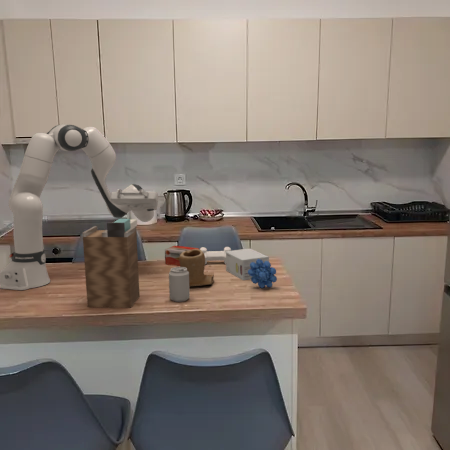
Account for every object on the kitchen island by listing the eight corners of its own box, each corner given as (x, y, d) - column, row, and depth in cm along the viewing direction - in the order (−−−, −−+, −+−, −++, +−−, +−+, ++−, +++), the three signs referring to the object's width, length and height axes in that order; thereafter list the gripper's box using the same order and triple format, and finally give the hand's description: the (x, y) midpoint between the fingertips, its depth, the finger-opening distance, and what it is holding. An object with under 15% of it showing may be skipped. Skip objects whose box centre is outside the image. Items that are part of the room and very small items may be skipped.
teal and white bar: (111, 236, 166) (110, 223, 165) (128, 225, 186) (127, 214, 185) (122, 236, 166) (121, 223, 165) (137, 225, 185) (137, 214, 185)
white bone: (230, 262, 231) (230, 245, 230) (231, 265, 222) (231, 248, 222) (200, 262, 231) (199, 246, 230) (199, 266, 222) (199, 248, 221)
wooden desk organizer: (87, 306, 170) (81, 222, 165) (99, 295, 182) (94, 217, 176) (130, 307, 169) (126, 223, 163) (139, 296, 181) (135, 217, 175)
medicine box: (164, 264, 226) (164, 248, 225) (174, 260, 233) (173, 245, 232) (191, 268, 219) (191, 252, 217) (200, 264, 226) (200, 248, 224)
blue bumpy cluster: (247, 291, 186) (247, 261, 184) (248, 285, 192) (248, 257, 190) (277, 291, 185) (277, 262, 182) (276, 286, 191) (276, 257, 189)
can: (186, 303, 173) (185, 271, 171) (167, 302, 175) (165, 270, 172) (191, 296, 180) (191, 266, 178) (173, 295, 182) (172, 265, 180)
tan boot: (178, 290, 187) (177, 254, 184) (177, 281, 199) (176, 247, 196) (216, 289, 189) (215, 252, 186) (213, 280, 200) (213, 246, 198)
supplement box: (225, 271, 214) (225, 251, 213) (250, 267, 220) (250, 247, 218) (242, 280, 199) (242, 259, 198) (269, 276, 205) (269, 255, 203)
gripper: (116, 196, 210) (106, 184, 197) (161, 196, 208) (154, 183, 195) (114, 209, 208) (104, 197, 195) (160, 210, 206) (153, 197, 193)
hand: (129, 190), depth 195 cm, fingers open, 8 cm apart
